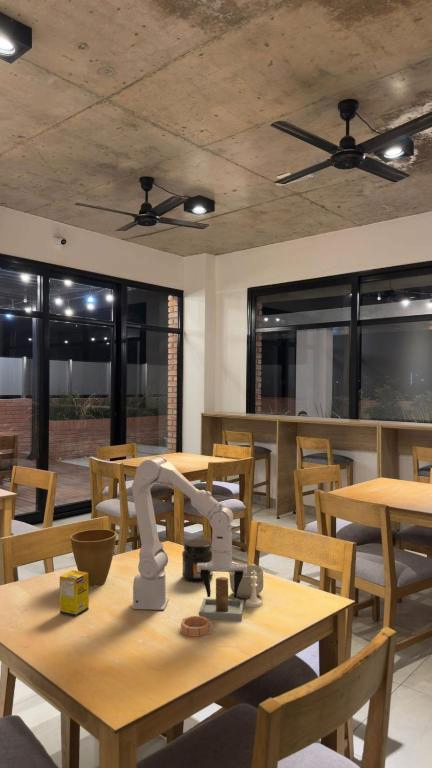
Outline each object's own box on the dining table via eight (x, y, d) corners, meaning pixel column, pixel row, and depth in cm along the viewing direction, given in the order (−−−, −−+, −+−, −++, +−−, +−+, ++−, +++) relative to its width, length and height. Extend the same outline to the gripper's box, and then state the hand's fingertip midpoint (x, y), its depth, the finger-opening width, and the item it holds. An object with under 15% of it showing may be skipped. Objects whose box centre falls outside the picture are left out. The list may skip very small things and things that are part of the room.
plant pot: (99, 571, 192) (99, 526, 192) (125, 582, 182) (125, 534, 182) (62, 582, 181) (61, 534, 181) (86, 594, 171) (86, 543, 171)
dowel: (214, 612, 156) (214, 581, 156) (217, 607, 160) (217, 576, 160) (227, 613, 156) (227, 581, 155) (229, 608, 159) (229, 577, 159)
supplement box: (89, 609, 160) (89, 572, 160) (76, 617, 154) (75, 578, 154) (72, 606, 162) (72, 569, 162) (59, 613, 157) (59, 575, 157)
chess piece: (261, 607, 161) (261, 573, 161) (244, 606, 162) (244, 572, 162) (263, 601, 166) (263, 568, 166) (247, 599, 167) (247, 567, 167)
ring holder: (179, 635, 143) (179, 627, 143) (184, 622, 151) (184, 615, 151) (208, 636, 142) (208, 629, 142) (211, 624, 150) (211, 616, 150)
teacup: (253, 604, 163) (253, 578, 163) (222, 597, 169) (222, 571, 169) (273, 589, 175) (273, 564, 175) (244, 583, 181) (244, 559, 181)
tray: (199, 618, 154) (199, 612, 154) (203, 604, 163) (203, 598, 163) (241, 620, 152) (241, 613, 152) (243, 605, 162) (243, 599, 162)
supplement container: (216, 581, 182) (216, 546, 182) (185, 584, 180) (185, 548, 180) (209, 571, 192) (209, 537, 192) (179, 573, 190) (179, 539, 190)
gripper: (195, 553, 155) (195, 600, 155) (246, 554, 153) (246, 603, 153) (198, 545, 162) (198, 591, 162) (247, 547, 160) (247, 593, 160)
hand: (222, 596), depth 158 cm, fingers open, 7 cm apart
